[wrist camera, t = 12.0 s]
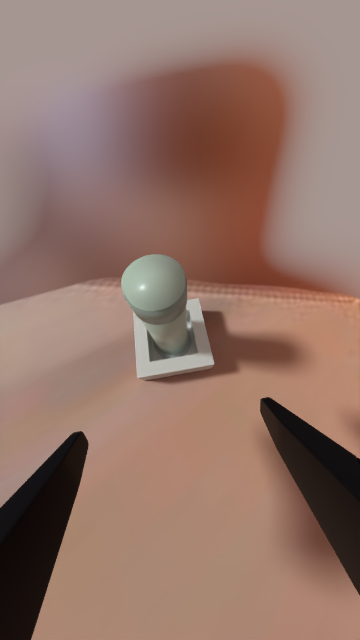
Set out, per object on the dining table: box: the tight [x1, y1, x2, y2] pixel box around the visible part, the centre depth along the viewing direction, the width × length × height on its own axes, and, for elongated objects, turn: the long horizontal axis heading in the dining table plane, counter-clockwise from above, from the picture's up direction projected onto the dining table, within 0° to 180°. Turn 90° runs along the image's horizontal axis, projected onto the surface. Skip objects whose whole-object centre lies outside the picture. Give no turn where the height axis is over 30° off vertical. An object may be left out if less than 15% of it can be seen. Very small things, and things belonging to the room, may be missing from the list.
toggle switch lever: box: [121, 254, 188, 355], centre depth 17 cm, size 4×4×13 cm
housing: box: [133, 298, 214, 381], centre depth 22 cm, size 9×9×4 cm
